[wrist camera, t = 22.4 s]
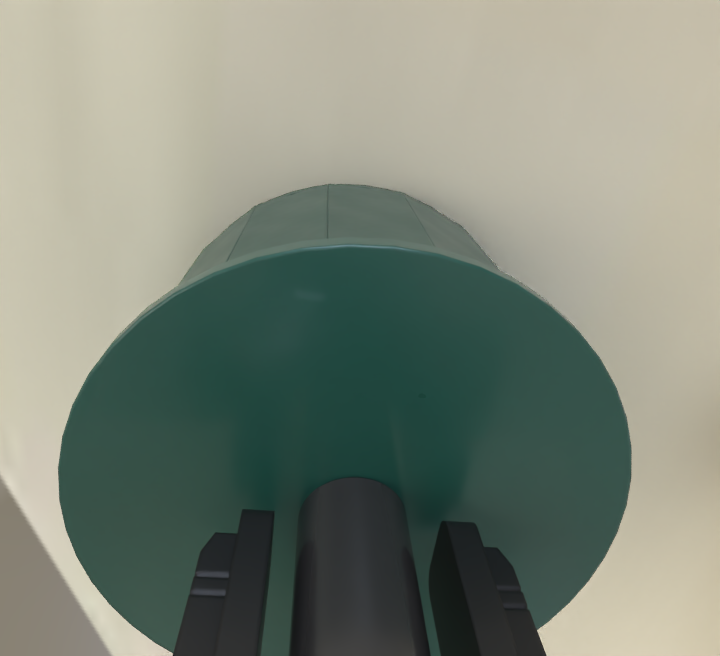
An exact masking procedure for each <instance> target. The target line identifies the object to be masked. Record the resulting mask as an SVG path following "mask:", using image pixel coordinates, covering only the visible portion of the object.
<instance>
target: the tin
mask: <svg viewBox="0 0 720 656" xmlns="http://www.w3.org/2000/svg"><path fill="white" fill-rule="evenodd" d="M340 237H359V238H382V239H395V240H401V241H406V242H412V243H418V244H424V245H429V246H435V247H438V248H441V249H444V250H448V251H451V252H454V253H457V254H460V255H463V256H467V257H470V258H473V259H476V260H478V261H480V262H482V263H484V264H486V265H488V266H490V267H493V268H495V269H497V270H499V269H498V268H497V266H496V265H495V264H494V263H493V262H492V260H491V259H490V258H489V257H488V256H487V255H486V253H485V252H484V251H483V250H482V249H481V248H480V246H479V245H478V244H477V243H476V242H475V241H474V239H473V238H472V237H471V236H470V235H469V234H468V232H467V231H466V230H465V229H464V228H463V227H462V226H460V225H458V224H457V223H455V222H453V221H451V220H450V219H448V218H447V217H445V216H444V215H442V214H441V213H439V212H438V211H436V210H435V209H433V208H432V207H430V206H428V205H426V204H424V203H422V202H420V201H418V200H416V199H414V198H412V197H410V196H408V195H406V194H404V193H402V192H396V191H391V190H388V189H382V188H377V187H371V186H366V185H349V184H336V185H335V184H328V185H323V186H315V187H310V188H306V189H301V190H297V191H293V192H290V193H287V194H284V195H282V196H279V197H276V198H274V199H271V200H269V201H267V202H265V203H261V204H258V205H256V206H254V207H253V208H252V209H251V210H250V211H248V212H247V213H246V214H245V215H243V216H242V217H240V218H239V219H238V220H236V221H235V222H234V223H232V224H231V225H230V226H229V227H228V228H227V229H226V230H225V231H224V232H223V233H222V234H221V235H220V236H219V237H217V238H216V239H215V240H214V241H213V242H211V243H210V244H209V245H208V246H207V247H205V248H204V249H203V251H202V252H201V253H200V255H199V256H198V258H197V259H196V260H195V262H194V263H193V265H192V266H191V268H190V269H189V270H188V272H187V273H186V275H185V276H184V278H183V279H182V280H181V282H180V283H179V284H181V283H183V282H185V281H187V280H189V279H191V278H193V277H195V276H197V275H199V274H201V273H203V272H204V271H206V270H208V269H210V268H212V267H214V266H216V265H218V264H221V263H224V262H227V261H229V260H232V259H235V258H238V257H241V256H243V255H246V254H249V253H252V252H255V251H258V250H262V249H266V248H271V247H275V246H280V245H285V244H289V243H294V242H299V241H305V240H317V239H329V238H340ZM499 271H500V270H499Z"/></svg>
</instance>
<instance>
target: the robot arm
mask: <svg viewBox="0 0 720 656" xmlns="http://www.w3.org/2000/svg"><path fill="white" fill-rule="evenodd" d="M274 516H275V511H271V510H253V509H242V513H241V518H240V523H239V528H238V533H217V532H215V533H214V535H213V536H212V537H211V538H210V540H209V541H208V542H207V543H206V545H205V546H204V547H203V548H202V550H201V551H200V555H199V559H198V562H197V566H196V570H195V575H194V577H193V581H192V585H191V589H190V594H189V596H188V600H187V604H186V608H185V611H184V615H183V619H182V623H181V626H180V630H179V634H178V638H177V641H176V645H175V649H174V653H173V656H261V648H262V639H263V631H264V622H265V613H266V605H267V596H268V587H269V578H270V568H271V556H272V543H273V529H274ZM428 584H429V596H430V602H431V607H432V612H433V618H434V623H435V628H436V633H437V638H438V644H439V649H440V654H441V656H546V653H545V651H544V648H543V645H542V643H541V640H540V637H539V635H538V632H537V629H536V627H535V624H534V621H533V619H532V616H531V613H530V610H528V608H527V602H526V600H525V597H524V594H523V592H521V586H520V584H519V581H518V578H517V576H516V573H515V570H514V568H513V566H512V565H511V563H510V562H509V561H508V560H507V558H506V557H505V556H504V555H503V554H502V552H501V551H500V550H499V549H498V548H496V547H484V546H483V543H482V540H481V537H480V534H479V531H478V528H477V526H476V524H475V523H474V522H458V521H442V522H441V524H440V527H439V531H438V535H437V539H436V543H435V547H434V551H433V556H432V560H431V564H430V569H429V582H428Z"/></svg>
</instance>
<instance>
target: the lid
mask: <svg viewBox="0 0 720 656" xmlns="http://www.w3.org/2000/svg"><path fill="white" fill-rule="evenodd" d="M58 476H59V500H60V505H61V509H62V514H63V518H64V523H65V528H66V531H67V533H68V536H69V538H70V541H71V543H72V546H73V548H74V551H75V553H76V556H77V558H78V560H79V561H80V563H81V565H82V566H83V568H84V570H85V571H86V573H87V575H88V576H89V578H90V580H91V582H92V583H93V584H94V585H95V587H96V588H97V589H98V590H99V592H100V593H101V594H102V595H103V597H104V598H105V599H106V600H107V602H108V603H109V604H110V605H111V606H112V607H113V608H114V609H115V610H116V611H117V612H118V613H119V614H120V615H121V616H122V617H123V618H125V619H126V620H127V621H128V622H129V623H130V624H131V625H132V626H133V627H135V628H136V629H137V630H139V631H140V632H141V633H143V634H144V635H145V636H147V637H148V638H149V639H151V640H152V641H153V642H155V643H156V644H158V645H160V646H162V647H163V648H165V649H167V650H168V651H170V652H172V653H174V649H175V645H176V641H177V638H178V634H179V630H180V626H181V623H182V619H183V615H184V611H185V608H186V604H187V600H188V596H189V594H190V589H191V585H192V581H193V577H194V575H195V570H196V566H197V562H198V559H199V555H200V551H201V550H202V548H203V547H204V546H205V545H206V543H207V542H208V541H209V540H210V538H211V537H212V536H213V535H214V533H215V532H217V533H238V528H239V523H240V518H241V513H242V509H253V510H271V511H275V516H274V529H273V543H272V556H271V568H270V578H269V587H268V596H267V605H266V613H265V622H264V631H263V639H262V648H261V656H441V654H440V649H439V644H438V638H437V633H436V628H435V623H434V618H433V612H432V607H431V602H430V596H429V584H428V582H429V569H430V564H431V560H432V556H433V551H434V547H435V543H436V539H437V535H438V531H439V527H440V524H441V522H442V521H458V522H474V523H475V524H476V526H477V528H478V531H479V534H480V537H481V540H482V543H483V546H484V547H496V548H498V549H499V550H500V551H501V552H502V554H503V555H504V556H505V557H506V558H507V560H508V561H509V562H510V563H511V565H512V566H513V568H514V570H515V573H516V576H517V578H518V581H519V584H520V586H521V592H523V594H524V597H525V600H526V602H527V608H528V610H530V613H531V616H532V619H533V621H534V624H535V627H536V629H537V630H538V629H539V628H540V627H542V626H543V625H545V624H546V623H547V622H549V621H550V620H551V619H552V618H553V617H554V616H555V615H556V614H557V613H558V612H560V611H561V610H562V609H563V608H564V607H565V606H566V605H567V604H568V603H570V601H571V600H572V599H573V598H574V597H575V596H576V595H577V593H578V592H579V591H580V590H581V589H582V588H583V587H584V586H585V584H586V583H587V582H588V581H589V580H590V578H591V577H592V575H593V574H594V572H595V571H596V569H597V568H598V566H599V565H600V564H601V562H602V561H603V559H604V558H605V556H606V554H607V552H608V550H609V548H610V546H611V544H612V542H613V540H614V538H615V536H616V534H617V532H618V529H619V526H620V523H621V520H622V517H623V514H624V511H625V508H626V505H627V499H628V493H629V487H630V482H631V442H630V435H629V429H628V423H627V417H626V414H625V411H624V408H623V405H622V402H621V400H620V397H619V394H618V391H617V388H616V386H615V384H614V382H613V380H612V379H611V377H610V375H609V373H608V371H607V370H606V368H605V366H604V364H603V362H602V361H601V359H600V357H599V356H598V355H597V354H596V352H595V351H594V350H593V349H592V347H591V346H590V345H589V344H588V342H587V341H586V340H585V339H584V337H583V336H582V335H581V333H580V332H579V331H578V330H577V329H576V328H575V327H574V326H573V325H572V324H571V323H570V322H569V321H568V320H567V319H566V318H565V317H564V316H563V315H562V314H561V313H560V312H558V311H557V310H556V309H555V308H554V307H553V306H552V305H551V304H550V303H549V302H547V301H546V300H545V299H544V298H543V297H541V296H540V295H538V294H537V293H535V292H534V291H532V290H531V289H529V288H528V287H526V286H525V285H523V284H522V283H520V282H519V281H517V280H516V279H514V278H513V277H511V276H509V275H507V274H505V273H503V272H501V271H499V270H497V269H495V268H493V267H490V266H488V265H486V264H484V263H482V262H480V261H478V260H476V259H473V258H470V257H467V256H463V255H460V254H457V253H454V252H451V251H448V250H444V249H441V248H438V247H435V246H429V245H424V244H418V243H412V242H406V241H401V240H395V239H382V238H359V237H340V238H329V239H317V240H305V241H299V242H294V243H289V244H285V245H280V246H275V247H271V248H266V249H262V250H258V251H255V252H252V253H249V254H246V255H243V256H241V257H238V258H235V259H232V260H229V261H227V262H224V263H221V264H218V265H216V266H214V267H212V268H210V269H208V270H206V271H204V272H203V273H201V274H199V275H197V276H195V277H193V278H191V279H189V280H187V281H185V282H183V283H181V284H179V285H178V286H177V287H175V288H174V289H172V290H171V291H170V292H168V293H167V294H165V295H164V296H163V297H161V298H160V299H158V300H157V301H156V302H154V303H153V304H151V305H150V306H149V307H147V308H146V309H145V310H144V311H143V312H142V313H141V314H140V315H139V316H138V317H137V318H136V319H135V320H134V321H132V322H131V323H130V324H129V325H128V326H127V327H126V328H125V329H124V330H123V331H122V332H121V333H120V334H119V335H118V336H117V338H116V339H115V340H114V341H113V343H112V344H111V345H110V347H109V348H108V349H107V351H106V352H105V353H104V355H103V356H102V357H101V358H100V360H99V361H98V362H97V364H96V365H95V366H94V368H93V369H92V370H91V372H90V373H89V375H88V376H87V378H86V380H85V382H84V384H83V386H82V388H81V390H80V392H79V394H78V396H77V397H76V399H75V401H74V403H73V405H72V408H71V411H70V415H69V418H68V421H67V424H66V427H65V430H64V433H63V436H62V444H61V451H60V459H59V466H58Z"/></svg>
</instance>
